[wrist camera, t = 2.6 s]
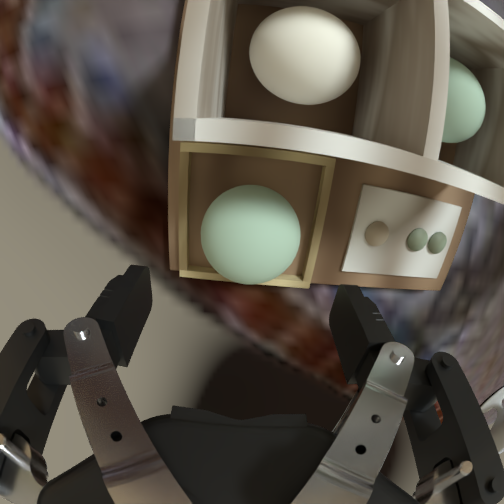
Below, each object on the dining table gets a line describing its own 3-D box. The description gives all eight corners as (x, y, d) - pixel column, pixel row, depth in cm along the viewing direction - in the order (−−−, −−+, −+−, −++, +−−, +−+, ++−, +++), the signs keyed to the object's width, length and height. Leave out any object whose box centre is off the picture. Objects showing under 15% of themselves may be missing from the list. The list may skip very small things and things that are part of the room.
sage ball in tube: (452, 76, 14) (504, 76, 8) (444, 145, 17) (495, 162, 11) (389, 48, 14) (435, 32, 8) (381, 124, 16) (427, 132, 11)
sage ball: (300, 180, 18) (318, 209, 13) (286, 258, 21) (296, 308, 16) (211, 171, 18) (192, 196, 13) (207, 251, 21) (191, 299, 16)
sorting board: (481, 61, 13) (564, 63, 4) (433, 282, 24) (486, 353, 15) (194, -17, 13) (151, -91, 3) (174, 260, 23) (132, 352, 14)
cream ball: (345, 34, 13) (380, 8, 8) (337, 113, 16) (371, 115, 11) (255, 19, 13) (255, -19, 8) (245, 100, 16) (241, 92, 11)
